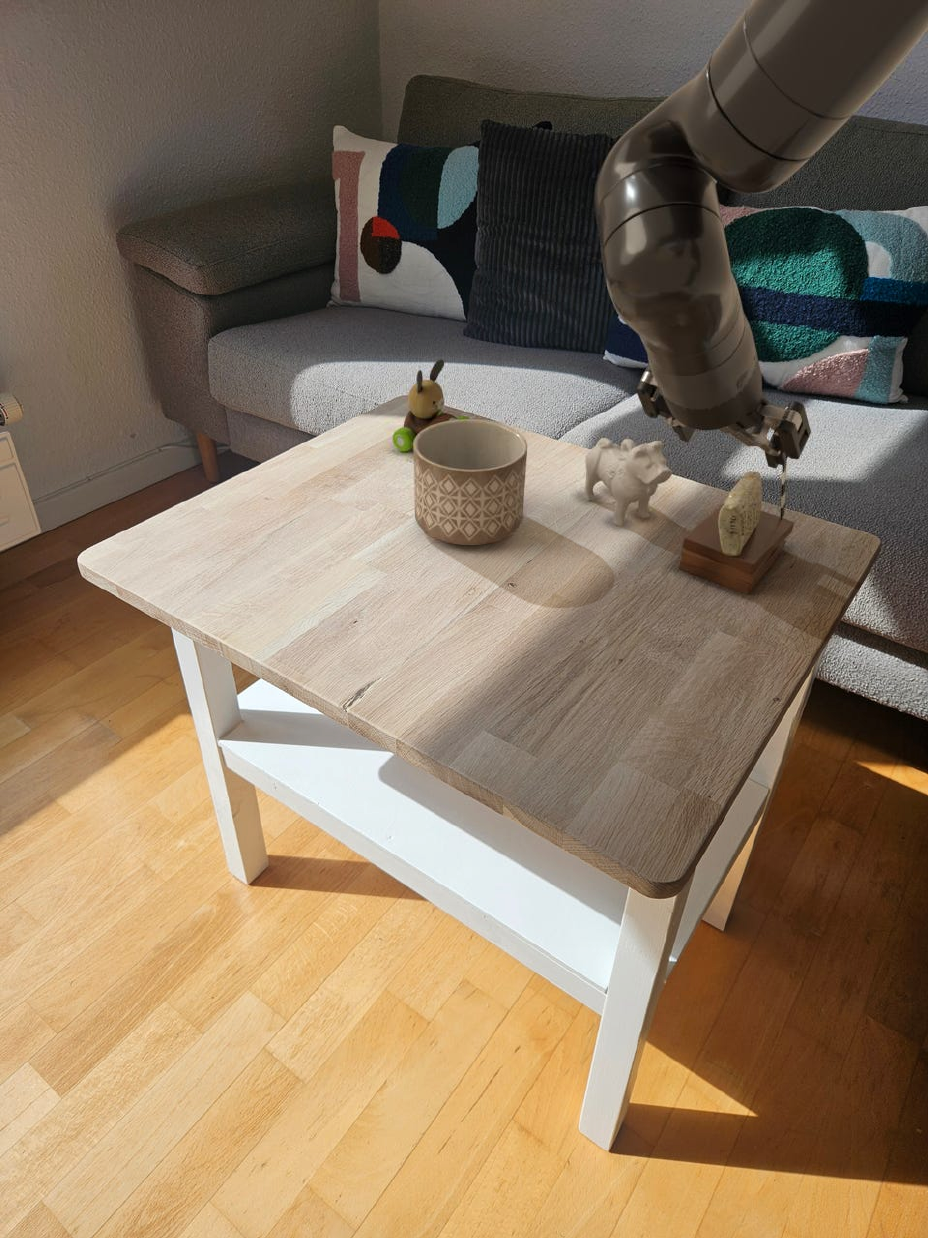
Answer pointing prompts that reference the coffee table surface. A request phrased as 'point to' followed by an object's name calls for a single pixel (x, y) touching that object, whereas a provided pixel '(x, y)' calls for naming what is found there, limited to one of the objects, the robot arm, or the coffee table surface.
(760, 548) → the slab pile
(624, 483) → the dog figurine
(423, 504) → the planter
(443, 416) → the bunny pull toy
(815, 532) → the coffee table surface
